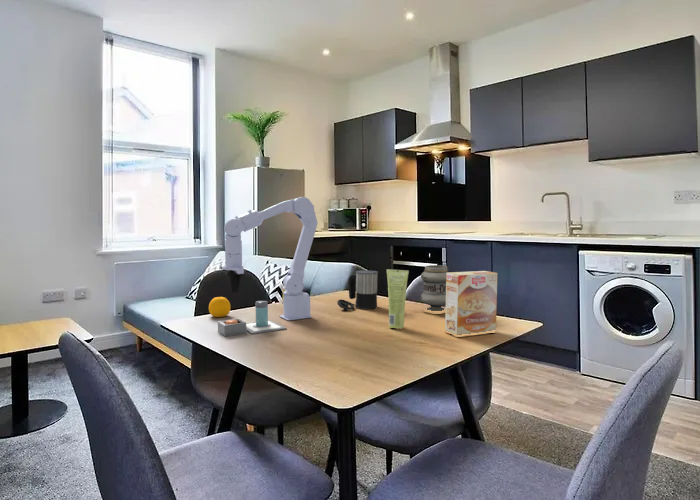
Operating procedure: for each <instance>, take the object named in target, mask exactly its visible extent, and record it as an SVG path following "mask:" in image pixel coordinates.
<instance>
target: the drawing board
mask: <svg viewBox="0 0 700 500" xmlns="http://www.w3.org/2000/svg"><path fill="white" fill-rule="evenodd" d="M287 329H288V328H287V327H286V326H284V325H281V324H280V323H277V322H275V321H273V320H271V319H270V320H269V319H268V326H266V327H256V321H255V322H250V323H249V322H248V323H247V322H246V333H249V334H250V335H257V334H262V333H263V334H264V333H270V332H277V331H282V330H283V331H284V330H287Z"/></svg>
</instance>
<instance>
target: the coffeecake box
mask: <svg viewBox="0 0 700 500" xmlns="http://www.w3.org/2000/svg"><path fill="white" fill-rule="evenodd" d="M449 272H450V271H449ZM497 300H498V272H494V271H487V270H478V271H477V270H476V271H475V270H474V271H473V270H472V271H455V272H454V271H453V272H452V271H451V272H450V273H446V305H445V309H446V314H444V315H445V322H444V323H445V324H444V325H445V326H444V331H445V330H446V331H448V332H451V333H453V334H456V335H462V334H471V333H479V332H486V331H492V330H496V331H497V304H498V301H497Z"/></svg>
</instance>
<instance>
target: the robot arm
mask: <svg viewBox="0 0 700 500" xmlns="http://www.w3.org/2000/svg"><path fill="white" fill-rule="evenodd" d="M282 213H293V214H294V215H295V216H296V217H298V219H299V221H300V222H301V224H302V228H301V232H300V235H299V239H298V242H297V246H296V249H295V252H294V256H293V259H292V263H291V266H290V268H289V269H288V272H287V274H286V276H285V277H284V278H283V280H282V287H285V291H284V292H283V291H282V304H283V307H282V309H283V314H280V315H279V317H280V318H281V319H284V320H286V321H295V320H303V319H309V318H312V316H311V297H310V295H309V293H307V292H304V291H303V290H304V288H305V287H304V285H305V284H304V277H305V268H306V264H307V261H308V258H309V255H310V254H309V253H310V252H311V251H310V250H311V247H312V244H313V241H314V238H315V234H316V231H317V228H318V219H317V216H316V212H315V205H314V204H313V203H312V201H311V200H310V199H309V198H307V197H306V196H299V197H296V198H293V199H289V200H285V201H282V202H279V203H277V204H275V205H272V206H270V207H267V208H266V209H264V210H261V211H259V210H258V211H257V210H255V209H254V210H252V209H250V210H249V209H248V210H247V212H246V213H244V214H241V215H236V216H234V218H232V219H230V220H227V222H226V223H225V224H224V227H223V229H224V232H225V236H224V239H225V241H224V259H225V262H224V263H225V264H224V266H222V267H221V269H222V270H225V271H228V272H224V276H225V278H226V279H227V282H228V285H229V290H230V293H233V294H235V293H238V292H239V288H240V283H241V281H242V278H243V277H244V274H245V269H244V267H243V246H242V245H243V242H242V232H245V233H246V232H248V231H251V230H253V229H255V228H257V227H259V226H262V224H263V221H264V220H266V219H269V218H272V217H274V216H277V215H279V214H282Z"/></svg>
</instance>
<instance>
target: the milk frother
mask: <svg viewBox="0 0 700 500" xmlns="http://www.w3.org/2000/svg"><path fill="white" fill-rule="evenodd" d="M378 274H379V271H377V270H368V269H367V270H366V269H365V270H364V269H362V270H356V271H355V273H352V274H350V275H349V277H348V281H347V282H348V297H349V299H350V300H355V304H354V303H352V302H350V301H347V300H345V299H338V300H337V301H336V303H337V305H338V307H339V308H342V310H344V311H352V310H354V309H355V308H357V309H361V310H371V309H370V308H375V309H377V308H378V307H377V306H378V295H377V294H378ZM376 307H377V308H376Z"/></svg>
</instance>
